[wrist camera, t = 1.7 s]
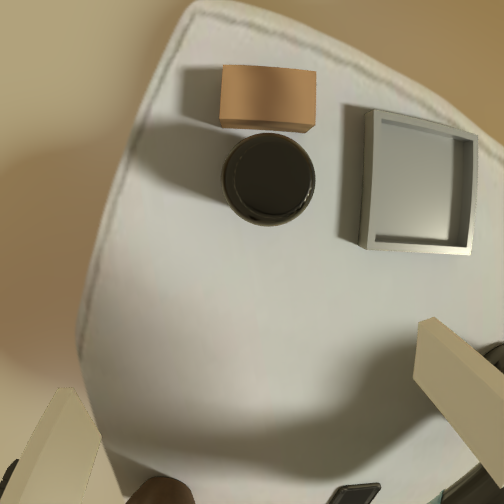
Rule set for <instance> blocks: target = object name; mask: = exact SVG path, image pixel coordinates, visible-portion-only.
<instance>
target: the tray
mask: <svg viewBox="0 0 504 504" xmlns="http://www.w3.org/2000/svg"><path fill="white" fill-rule="evenodd" d="M477 183H478V135H476V134H473V133H469V132H466V131H463V130H459V129H456V128H452V127H449V126H445V125H441V124H438V123H434V122H430V121H426V120H422V119H418V118H413V117H409V116H405V115H400V114H395V113H390V112H385V111H380V110H375V109H373V110H372V111H370V112H368V113H366V114H365V131H364V166H363V186H362V202H361V215H360V227H359V238H358V246H360V247H362V248H364V249H366V250H380V251H401V252H422V253H442V254H461V255H471V248H472V241H473V233H474V224H475V213H476V200H477Z"/></svg>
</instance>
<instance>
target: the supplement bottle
mask: <svg viewBox="0 0 504 504" xmlns="http://www.w3.org/2000/svg"><path fill="white" fill-rule="evenodd" d="M221 186H222V191H223V194H224V197H225V199H226V201H227V203H228V205H229V206H230V208H231V209H232V210H233V211H234V212H235V213H236V214H237V215H238V216H239V217H241V218H242V219H244V220H245V221H247V222H249V223H252V224H255V225H259V226H267V227H270V226H278V225H282V224H285V223H288V222H290V221H292V220H293V219H295V218H296V217H298V216H299V215H300V214H301V213H302V212H303V211H304V210H305V209H306V207H307V206H308V204H309V203H310V201H311V199H312V196H313V193H314V189H315V171H314V167H313V164H312V161H311V159H310V157H309V156H308V154H307V153H306V151H305V150H304V149H303V148H302V147H301V146H300V145H299V144H298V143H297V142H295V141H294V140H292V139H290V138H288V137H286V136H283V135H280V134H275V133H260V134H256V135H252V136H250V137H248V138H246V139H244V140H242V141H241V142H239V143H238V144H237V145H236V146H235V147H234V148H233V149H232V150H231V151H230V153H229V154H228V156H227V157H226V160H225V162H224V164H223V168H222V173H221Z"/></svg>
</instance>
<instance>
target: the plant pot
mask: <svg viewBox="0 0 504 504" xmlns="http://www.w3.org/2000/svg"><path fill="white" fill-rule="evenodd" d="M126 504H195V501H194V498H193V495H192V493H191V490H190V489H189V488H188V487H187V486H186V485H185V484H183V483H182V482H180V481H178V480H175V479H172V478H167V477H153V478H150V479H148V480H147V481H146V482H145V483H144V484H143V485H142V486H141V487H140V488H139V489H138V490H137V491H136V492H135V493H134V494H133V495H132V496H131V498H130V499H129V500H128V501H127V502H126Z"/></svg>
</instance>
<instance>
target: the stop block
mask: <svg viewBox="0 0 504 504" xmlns="http://www.w3.org/2000/svg"><path fill="white" fill-rule="evenodd" d="M315 117H316V71H308V70H299V69H289V68H278V67H265V66H247V65H223V71H222V85H221V99H220V115H219V119H220V123H221V126H222V128H234V129H256V130H273V131H286V132H298V133H306V132H307V131H308V130H310V129H311V128H312V127H313V126H314V125H315Z"/></svg>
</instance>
